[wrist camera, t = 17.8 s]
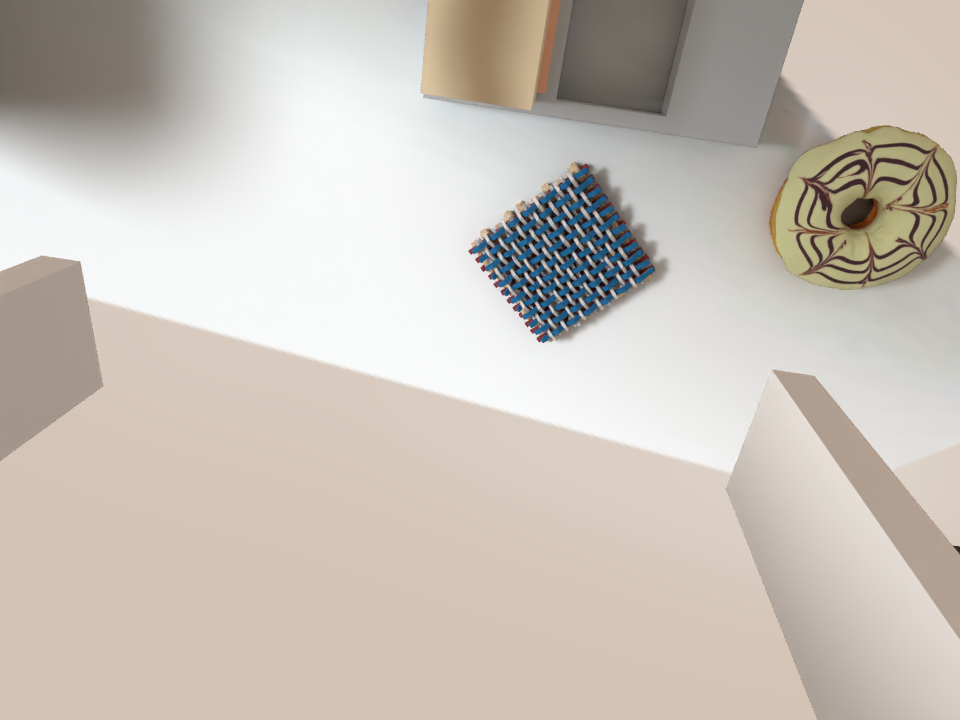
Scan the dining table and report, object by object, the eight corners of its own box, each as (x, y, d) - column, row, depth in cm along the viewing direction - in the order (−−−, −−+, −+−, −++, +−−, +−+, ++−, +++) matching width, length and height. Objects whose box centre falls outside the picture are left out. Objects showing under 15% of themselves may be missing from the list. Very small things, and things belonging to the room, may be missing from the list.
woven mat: (463, 241, 47) (459, 248, 45) (580, 154, 43) (581, 158, 41) (542, 343, 50) (541, 354, 48) (658, 270, 46) (662, 278, 44)
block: (442, 87, 39) (420, 93, 33) (457, -63, 35) (435, -88, 29) (534, 102, 39) (531, 110, 32) (559, -48, 35) (560, -70, 29)
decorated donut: (761, 144, 41) (780, 151, 38) (939, 106, 39) (976, 111, 36) (766, 289, 45) (783, 307, 42) (927, 262, 43) (958, 279, 40)
